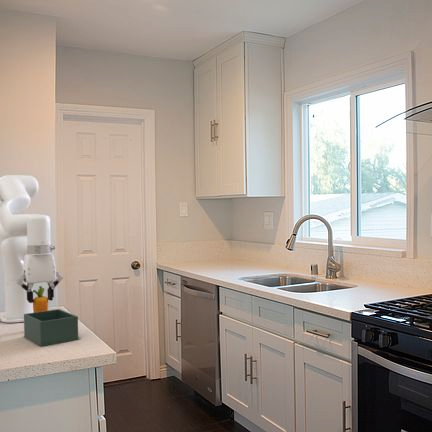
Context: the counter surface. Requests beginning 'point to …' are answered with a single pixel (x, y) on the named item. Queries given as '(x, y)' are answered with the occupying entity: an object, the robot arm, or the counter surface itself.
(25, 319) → the bin
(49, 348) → the counter surface
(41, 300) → the carrot
